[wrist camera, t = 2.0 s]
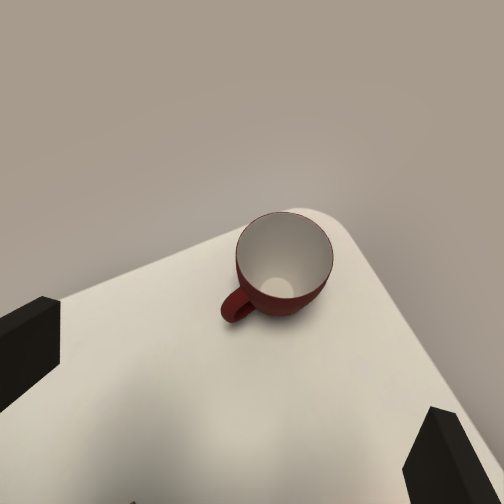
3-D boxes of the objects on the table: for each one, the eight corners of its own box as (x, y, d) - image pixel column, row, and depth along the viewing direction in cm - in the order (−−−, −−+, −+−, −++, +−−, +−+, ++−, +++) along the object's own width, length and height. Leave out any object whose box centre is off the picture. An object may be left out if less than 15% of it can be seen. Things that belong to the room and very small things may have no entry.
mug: (260, 366, 34) (263, 345, 25) (206, 309, 36) (191, 271, 27) (329, 294, 37) (354, 253, 28) (275, 247, 40) (282, 195, 31)
